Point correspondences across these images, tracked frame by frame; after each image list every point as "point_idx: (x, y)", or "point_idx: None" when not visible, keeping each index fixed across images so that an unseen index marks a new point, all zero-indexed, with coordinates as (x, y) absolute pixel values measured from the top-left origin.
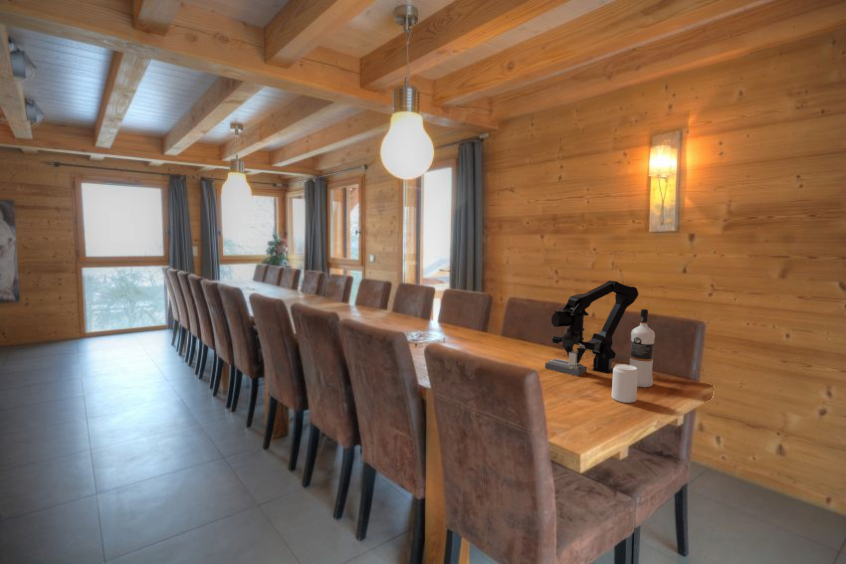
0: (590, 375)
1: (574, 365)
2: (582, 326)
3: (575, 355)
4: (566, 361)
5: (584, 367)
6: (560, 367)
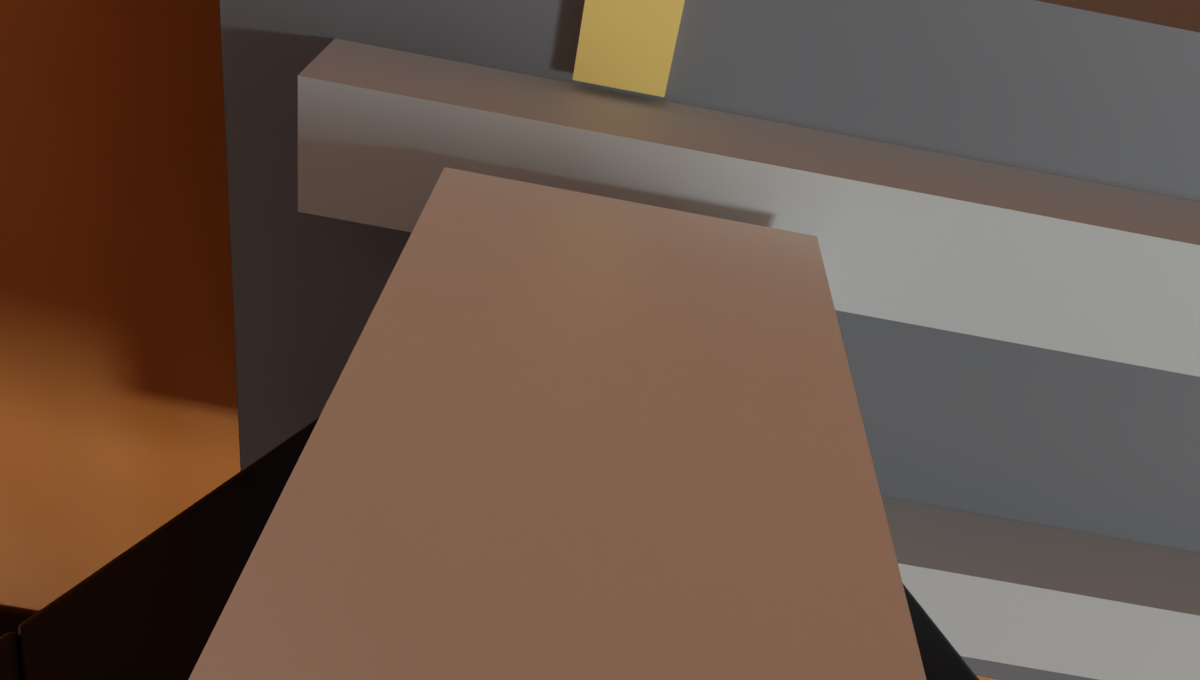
0: (72, 214)
1: None
2: None
3: (255, 571)
4: (964, 595)
5: (244, 434)
6: (1148, 15)
